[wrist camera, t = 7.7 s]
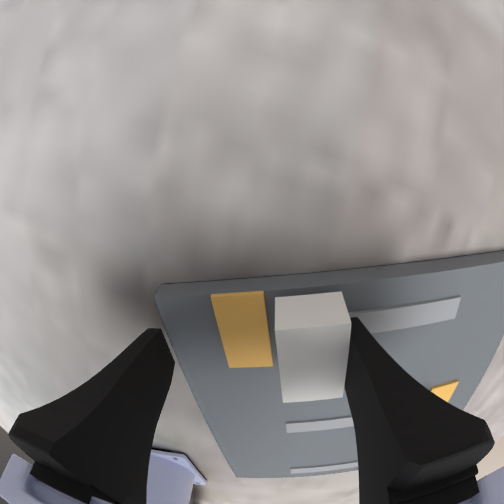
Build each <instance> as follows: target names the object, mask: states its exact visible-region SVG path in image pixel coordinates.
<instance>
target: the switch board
mask: <svg viewBox="0 0 504 504" xmlns="http://www.w3.org/2000/svg"><path fill="white" fill-rule="evenodd" d="M340 291H342V295H343V298H344V301H345V304H346V307H347V310H348V313H349V317H350V318H353V317H358V318H359V319H360V320H361V322H362V323H363V324H364V326H365V327H366V328H367V329H368V331H369V332H370V333H371V334H372V336H373V337H374V338H375V339H376V340H377V342H378V343H379V344H380V345H381V346H382V347H383V348H384V349H385V351H386V352H387V353H388V354H389V355H390V356H391V357H392V358H393V359H394V360H395V361H396V362H397V363H398V364H399V365H400V366H401V367H402V368H403V369H404V370H405V371H406V372H407V373H408V374H409V375H411V376H412V377H413V378H414V379H415V380H417V381H418V382H419V383H420V384H422V385H423V386H424V387H425V388H427V389H428V390H430V391H431V392H433V393H434V394H436V395H437V396H439V397H440V398H442V399H443V400H445V401H446V402H448V403H450V404H451V405H453V406H455V407H457V408H459V409H461V410H463V409H464V408H465V406H466V405H467V403H468V401H469V400H470V398H471V397H472V395H473V393H474V392H475V390H476V388H477V386H478V385H479V383H480V381H481V379H482V378H483V376H484V374H485V372H486V370H487V368H488V366H489V364H490V363H491V361H492V359H493V357H494V355H495V352H496V350H497V348H498V346H499V344H500V342H501V340H502V337H503V335H504V251H498V252H490V253H483V254H476V255H469V256H461V257H453V258H445V259H437V260H429V261H421V262H412V263H404V264H395V265H386V266H376V267H367V268H357V269H347V270H337V271H327V272H316V273H305V274H294V275H283V276H271V277H258V278H246V279H232V280H219V281H204V282H189V283H173V284H161V285H160V287H159V289H158V290H157V292H156V294H155V295H154V300H155V303H156V305H157V308H158V311H159V314H160V316H161V319H162V322H163V324H164V327H165V330H166V332H167V335H168V337H169V340H170V342H171V345H172V347H173V350H174V352H175V354H176V357H177V359H178V362H179V364H180V366H181V369H182V371H183V373H184V376H185V378H186V380H187V382H188V385H189V387H190V389H191V391H192V393H193V395H194V398H195V400H196V402H197V404H198V406H199V408H200V410H201V412H202V414H203V416H204V418H205V420H206V422H207V424H208V426H209V428H210V430H211V432H212V434H213V436H214V438H215V440H216V442H217V444H218V445H219V447H220V449H221V451H222V453H223V455H224V456H225V458H226V460H227V462H228V464H229V465H230V467H231V469H232V471H233V472H234V474H235V476H236V477H244V478H283V477H303V476H315V475H325V474H334V473H341V472H348V471H355V470H359V469H358V456H357V445H356V436H355V429H354V424H353V419H352V415H351V411H350V407H349V403H348V399H347V395H346V391H345V387H344V392H343V397H342V398H334V399H325V400H315V401H304V402H290V403H283V399H282V390H281V381H280V372H279V363H278V355H277V346H276V338H275V297H286V296H298V295H309V294H320V293H330V292H340Z"/></svg>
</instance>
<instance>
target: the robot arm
mask: <svg viewBox="0 0 504 504" xmlns="http://www.w3.org/2000/svg"><path fill="white" fill-rule="evenodd" d="M350 320H351V334H350V344H349V354H348V362H347V370H346V378H345V385H344V387H345V391H346V395H347V399H348V403H349V407H350V411H351V415H352V419H353V424H354V429H355V436H356V445H357V456H358V469H359V504H504V467H502V468H500V469H498V470H496V471H494V472H493V473H491V474H489V475H487V476H485V477H483V478H481V479H480V480H478V481H476V477H475V475H476V474H478V469H477V465H476V464H477V463H478V462H480V461H481V460H482V459H483V458H484V457H485V456H486V455H487V454H488V453H489V452H490V450H491V449H492V448H493V446H494V443H495V442H494V440H493V437H492V434H491V432H490V429H489V427H488V425H487V423H486V421H485V420H483V419H481V418H478V417H476V416H474V415H471V414H469V413H467V412H465V411H463V410H461V409H459V408H457V407H455V406H453V405H451V404H450V403H448V402H446V401H445V400H443V399H442V398H440V397H439V396H437V395H436V394H434V393H433V392H431V391H430V390H428V389H427V388H425V387H424V386H423V385H422V384H420V383H419V382H418V381H417V380H415V379H414V378H413V377H412V376H411V375H409V374H408V373H407V372H406V371H405V370H404V369H403V368H402V367H401V366H400V365H399V364H398V363H397V362H396V361H395V360H394V359H393V358H392V357H391V356H390V355H389V354H388V353H387V352H386V351H385V349H384V348H383V347H382V346H381V345H380V344H379V343H378V342H377V340H376V339H375V338H374V337H373V336H372V334H371V333H370V332H369V331H368V329H367V328H366V327H365V326H364V324H363V323H362V322H361V320H360V319H359V318H358V317H353V318H350ZM174 365H175V361H174V359H173V357H172V354H171V352H170V350H169V347H168V345H167V342H166V340H165V337H164V335H163V332H162V330H161V329H156V328H148V329H147V330H146V331H145V332H143V333H142V334H141V335H140V336H139V337H138V338H137V339H136V340H135V341H134V342H133V343H131V344H130V345H129V346H128V347H127V348H126V349H125V350H124V351H123V352H122V353H121V354H120V355H118V356H117V357H116V358H115V359H114V360H113V361H112V362H111V363H109V364H108V365H107V366H106V367H105V368H103V369H102V370H101V371H100V372H99V373H98V374H96V375H95V376H94V377H92V378H91V379H90V380H88V381H87V382H85V383H84V384H82V385H81V386H80V387H78V388H76V389H75V390H73V391H71V392H70V393H68V394H66V395H64V396H63V397H61V398H59V399H57V400H55V401H53V402H51V403H49V404H46V405H44V406H42V407H39V408H36V409H34V410H31V411H28V412H25V413H21V414H19V416H18V418H17V419H16V421H15V423H14V425H13V426H12V428H11V430H10V432H9V437H10V439H11V440H12V441H13V442H14V443H15V444H16V445H17V446H18V447H19V448H21V450H23V451H24V452H25V453H26V454H27V455H28V456H29V457H31V458H32V459H33V460H34V461H35V463H34V465H31V464H30V463H28V462H27V461H25V460H24V459H22V458H20V457H18V456H17V455H15V454H12V456H11V458H10V460H9V462H8V464H7V466H6V468H5V471H4V472H3V475H2V477H1V479H0V496H1V497H2V498H3V499H5V500H6V501H7V502H8V503H10V504H189V502H190V497H191V492H192V487H193V484H198V485H206V484H207V481H206V480H205V479H204V478H203V476H202V475H201V474H200V473H199V472H198V471H197V469H196V468H195V467H194V466H193V464H192V463H191V462H190V461H189V459H188V458H187V457H186V456H185V455H183V454H178V453H171V452H164V451H158V450H152V449H151V448H152V443H153V438H154V433H155V429H156V426H157V423H158V420H159V417H160V414H161V411H162V408H163V405H164V402H165V399H166V396H167V393H168V391H169V388H170V385H171V381H172V376H173V371H174Z"/></svg>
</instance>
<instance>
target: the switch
mask: <svg viewBox="0 0 504 504" xmlns="http://www.w3.org/2000/svg"><path fill="white" fill-rule="evenodd" d="M350 334H351V320H350V317H349V313H348V310H347V307H346V304H345V301H344V298H343V295H342V291H340V292H330V293H320V294H309V295H298V296H286V297H275V338H276V346H277V355H278V363H279V372H280V381H281V390H282V399H283V403H290V402H304V401H315V400H325V399H334V398H342V397H343V392H344V385H345V378H346V370H347V362H348V354H349V344H350Z"/></svg>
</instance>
